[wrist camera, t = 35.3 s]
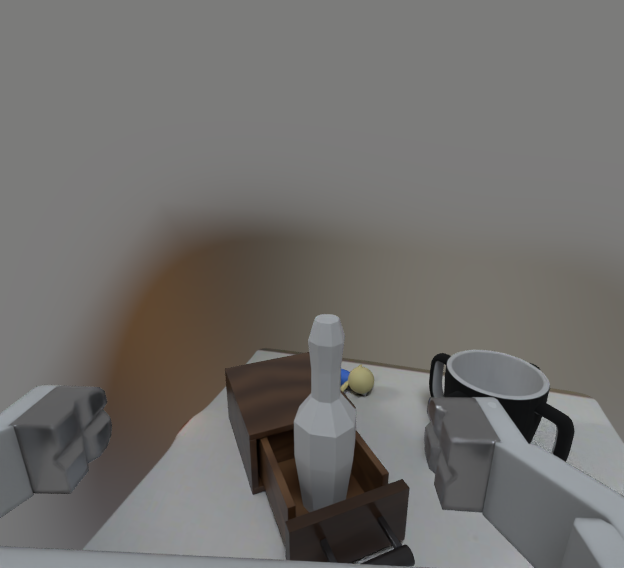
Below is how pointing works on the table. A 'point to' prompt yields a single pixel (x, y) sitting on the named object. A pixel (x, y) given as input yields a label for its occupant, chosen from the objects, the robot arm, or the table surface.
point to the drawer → (336, 508)
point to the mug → (503, 390)
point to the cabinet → (265, 403)
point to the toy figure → (357, 380)
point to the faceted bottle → (324, 421)
